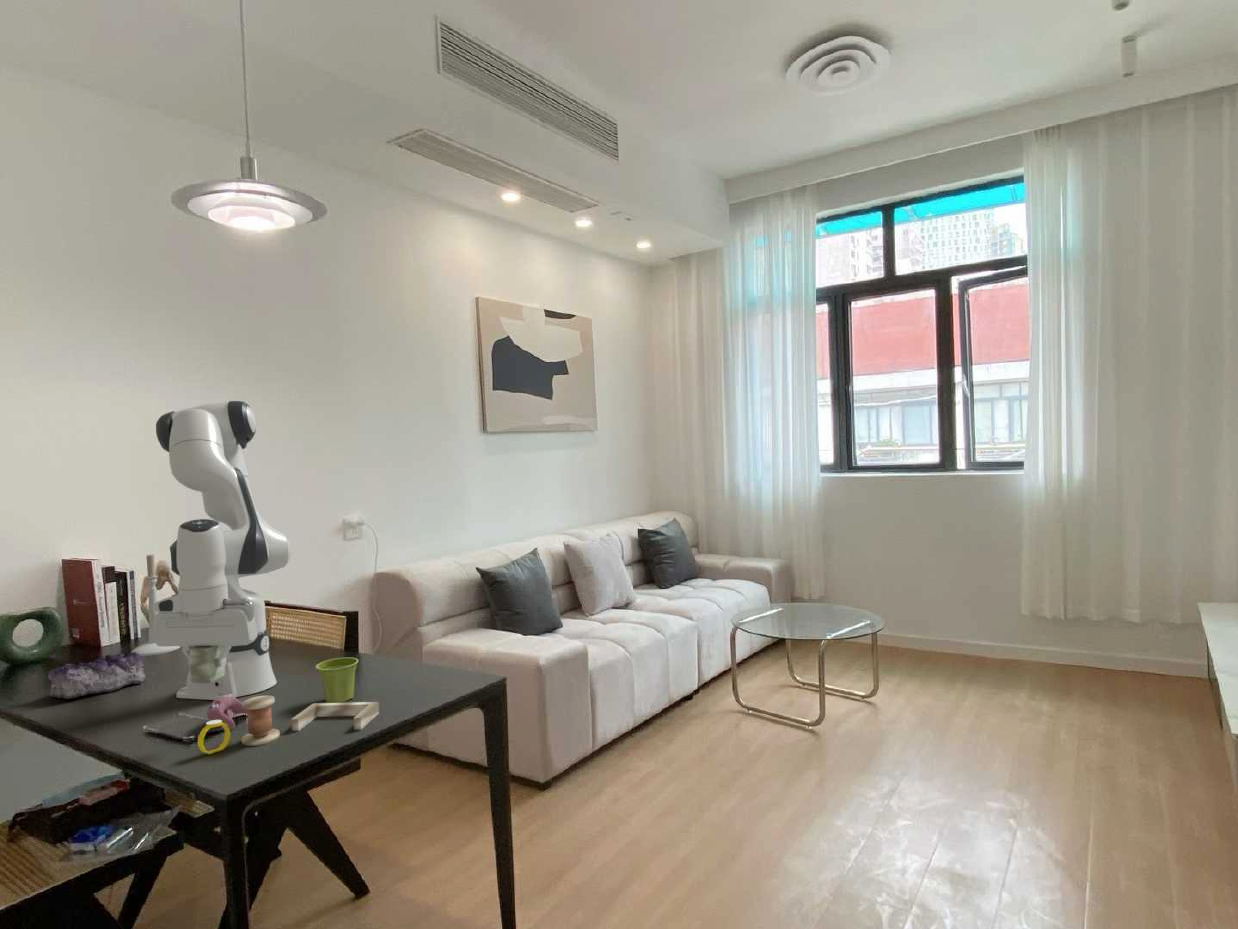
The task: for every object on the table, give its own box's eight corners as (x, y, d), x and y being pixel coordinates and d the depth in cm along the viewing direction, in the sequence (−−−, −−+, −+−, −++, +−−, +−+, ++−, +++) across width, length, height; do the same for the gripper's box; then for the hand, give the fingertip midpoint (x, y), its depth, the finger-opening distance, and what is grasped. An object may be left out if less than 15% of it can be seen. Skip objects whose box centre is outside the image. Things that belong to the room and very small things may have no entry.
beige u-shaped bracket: (292, 731, 156) (291, 719, 156) (313, 714, 166) (313, 703, 166) (361, 729, 155) (360, 718, 155) (379, 713, 165) (378, 702, 164)
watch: (204, 759, 144) (202, 728, 143) (195, 756, 145) (193, 726, 145) (233, 747, 149) (231, 717, 149) (225, 745, 150) (223, 715, 150)
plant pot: (320, 709, 169) (317, 671, 168) (316, 698, 177) (313, 661, 177) (363, 701, 173) (361, 664, 173) (357, 690, 181) (355, 655, 181)
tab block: (191, 683, 150) (189, 649, 150) (206, 675, 155) (204, 642, 155) (210, 683, 150) (208, 648, 150) (224, 674, 155) (223, 641, 155)
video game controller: (235, 722, 168) (219, 695, 167) (253, 711, 168) (237, 685, 167) (215, 739, 158) (198, 711, 157) (235, 728, 158) (218, 700, 158)
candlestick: (190, 644, 235) (184, 550, 234) (156, 656, 222) (149, 556, 221) (156, 644, 237) (150, 550, 237) (121, 655, 225) (114, 557, 224)
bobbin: (234, 746, 149) (232, 707, 149) (254, 732, 156) (251, 695, 156) (268, 745, 149) (265, 706, 149) (286, 732, 156) (283, 694, 156)
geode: (138, 676, 203) (139, 640, 202) (150, 690, 195) (151, 653, 194) (45, 694, 188) (45, 655, 187) (54, 709, 180) (55, 670, 179)
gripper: (261, 595, 155) (265, 660, 155) (167, 597, 156) (170, 662, 156) (244, 602, 148) (248, 670, 149) (146, 604, 150) (150, 671, 150)
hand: (207, 666), depth 153 cm, fingers closed on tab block, 4 cm apart
